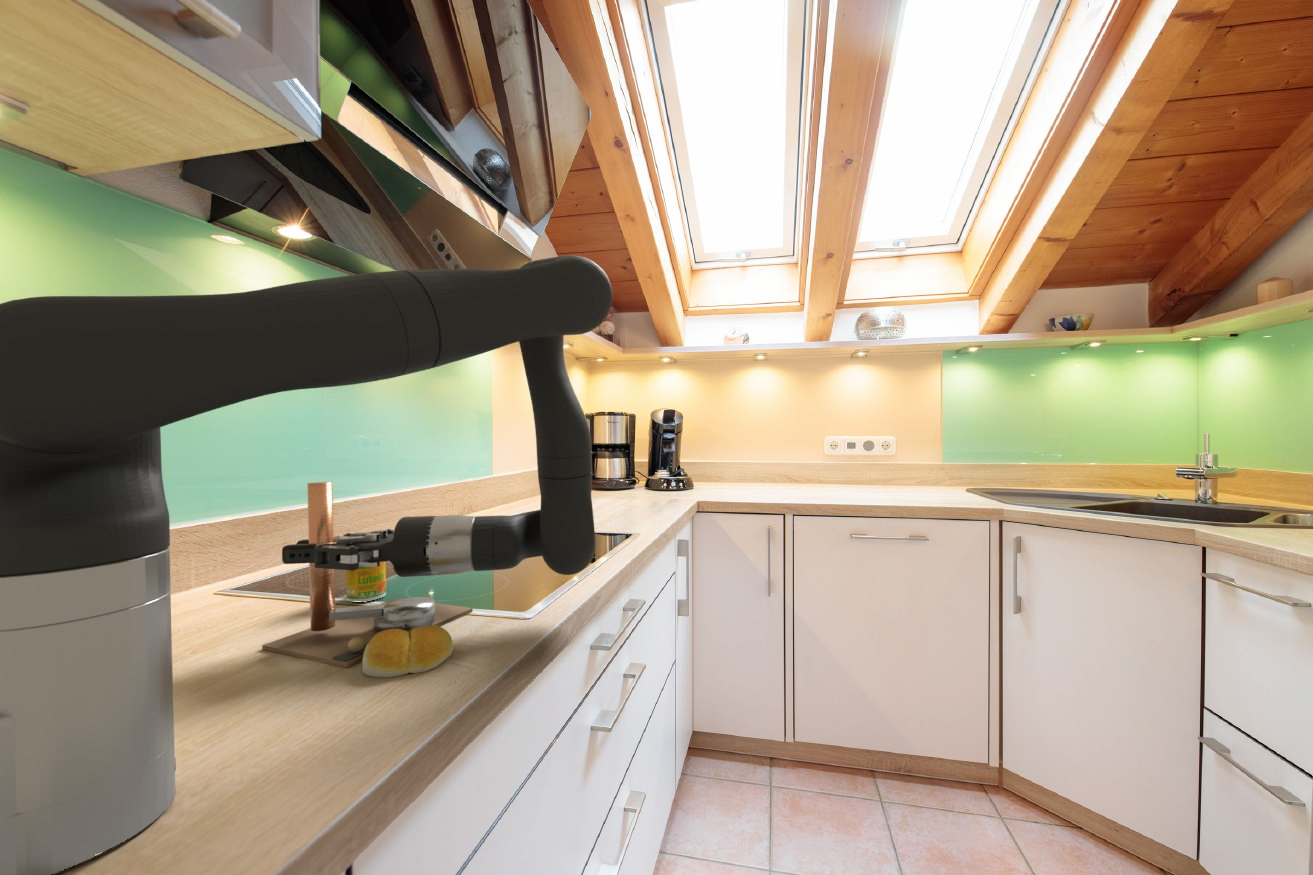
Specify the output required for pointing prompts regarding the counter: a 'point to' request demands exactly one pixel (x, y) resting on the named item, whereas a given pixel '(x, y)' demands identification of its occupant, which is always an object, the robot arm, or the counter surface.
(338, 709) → the counter surface
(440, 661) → the bread roll
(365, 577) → the supplement bottle
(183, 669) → the counter surface
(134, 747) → the robot arm
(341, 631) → the stand
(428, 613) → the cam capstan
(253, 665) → the counter surface
